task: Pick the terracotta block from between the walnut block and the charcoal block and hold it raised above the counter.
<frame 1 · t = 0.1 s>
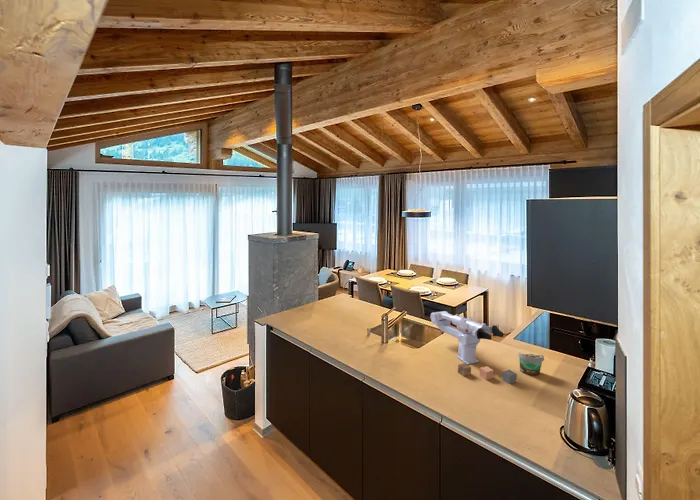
hand: (496, 336, 175), 22 cm above the worktop, tool horizontal, fingers open, 7 cm apart
walnut block: (464, 373, 181), on the worktop
food container: (531, 374, 181), on the worktop
terracotta block: (486, 377, 178), on the worktop
charcoal block: (509, 381, 174), on the worktop
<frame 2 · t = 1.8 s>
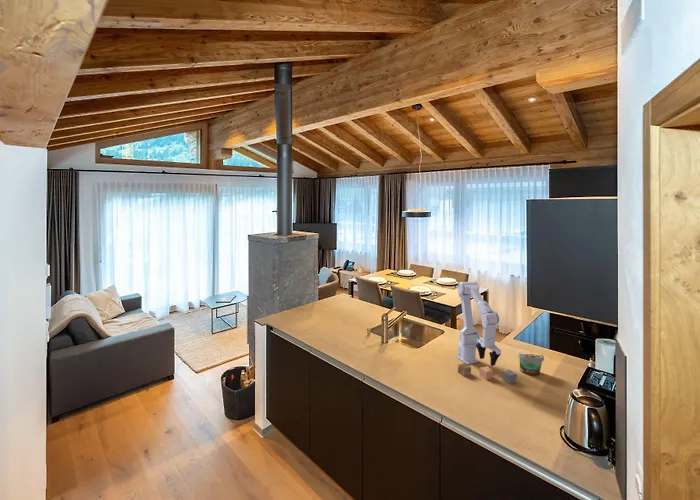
hand: (487, 361, 177), 8 cm above the worktop, tool pointing down, fingers open, 7 cm apart
nothing on the worktop moved.
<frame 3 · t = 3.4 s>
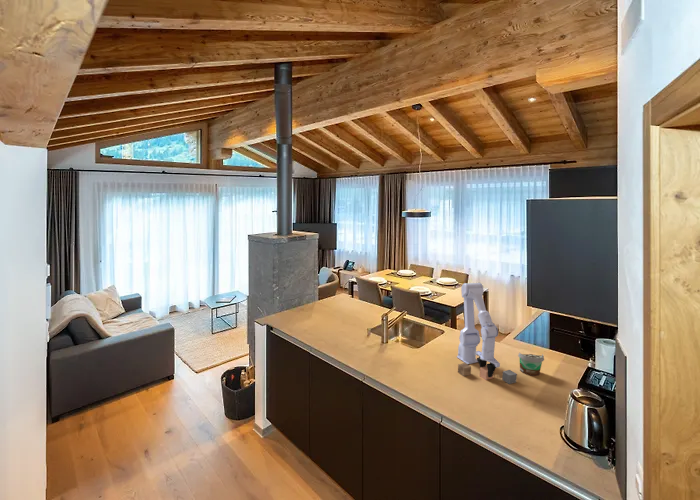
hand: (486, 374, 178), 2 cm above the worktop, tool pointing down, fingers closed on terracotta block, 4 cm apart
terracotta block: (486, 377, 178), on the worktop, touching gripper
everything else where it was.
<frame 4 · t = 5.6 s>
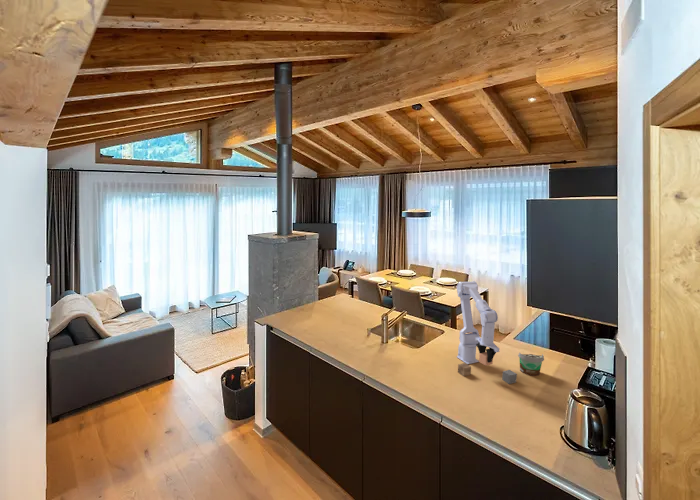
hand: (485, 359, 177), 9 cm above the worktop, tool pointing down, fingers closed on terracotta block, 4 cm apart
terracotta block: (485, 362, 178), point 7 cm above the worktop, touching gripper
everything else where it was.
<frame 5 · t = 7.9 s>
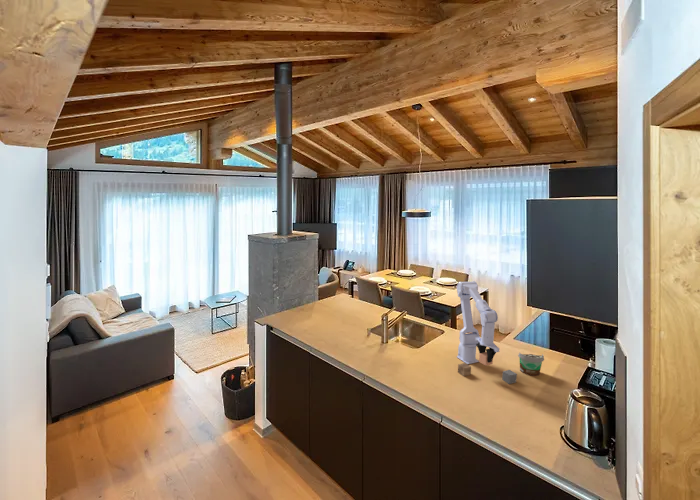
hand: (485, 359, 177), 9 cm above the worktop, tool pointing down, fingers closed on terracotta block, 4 cm apart
terracotta block: (485, 362, 178), point 7 cm above the worktop, touching gripper
everything else where it was.
at the end: the gripper is holding terracotta block; terracotta block point 7.3 cm above the worktop; charcoal block moved 0.1 cm from its start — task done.
